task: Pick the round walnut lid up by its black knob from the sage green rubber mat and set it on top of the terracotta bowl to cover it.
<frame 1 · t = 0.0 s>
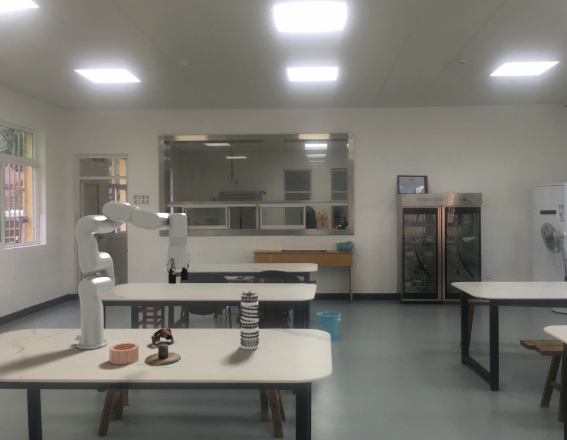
hand: (178, 281, 184), 31 cm above the table, tool pointing down, fingers open, 9 cm apart
lid: (163, 359, 177), resting on mat
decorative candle: (249, 346, 196), on the table
bowl: (124, 361, 176), on the table
mat: (163, 360, 177), on the table
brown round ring: (164, 344, 201), on the table
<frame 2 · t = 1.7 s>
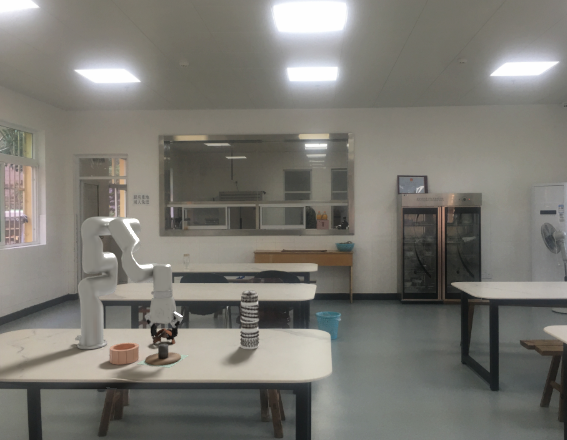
hand: (164, 336, 176), 10 cm above the table, tool pointing down, fingers open, 9 cm apart
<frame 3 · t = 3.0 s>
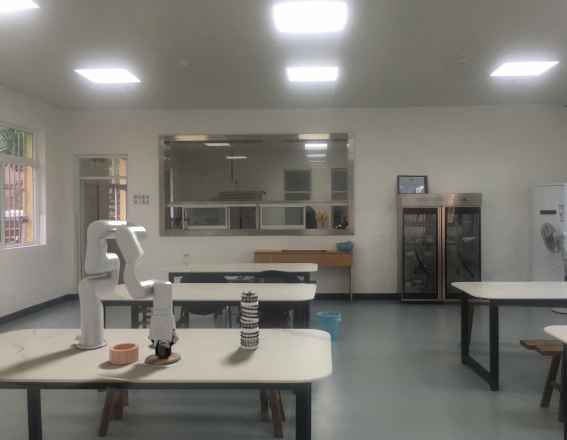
hand: (163, 355, 177), 2 cm above the table, tool pointing down, fingers closed on lid, 4 cm apart
lid: (163, 359, 177), point 1 cm above the table, touching gripper, mat
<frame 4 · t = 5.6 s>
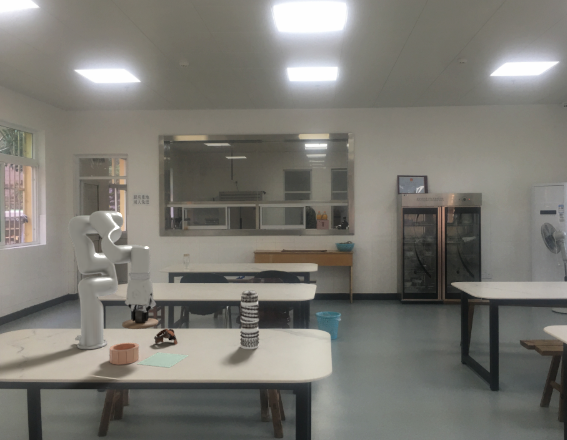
hand: (140, 320, 177), 17 cm above the table, tool pointing down, fingers closed on lid, 4 cm apart
lid: (140, 324, 177), point 15 cm above the table, touching gripper
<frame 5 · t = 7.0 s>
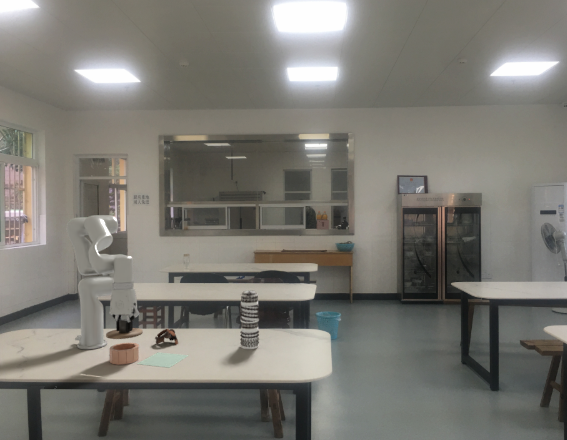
hand: (124, 330, 176), 13 cm above the table, tool pointing down, fingers closed on lid, 4 cm apart
lid: (124, 334, 176), point 11 cm above the table, touching gripper
when the fingers open (8 cm above the table, at t = 8.1 s): lid stays where it is, resting on bowl.
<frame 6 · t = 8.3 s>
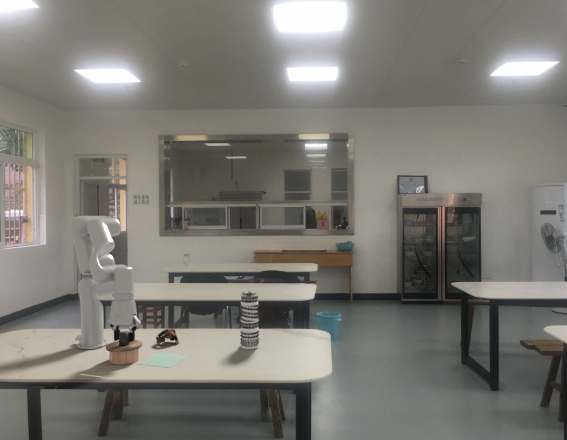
hand: (124, 340, 176), 9 cm above the table, tool pointing down, fingers open, 6 cm apart
lid: (124, 346, 176), point 6 cm above the table, touching bowl
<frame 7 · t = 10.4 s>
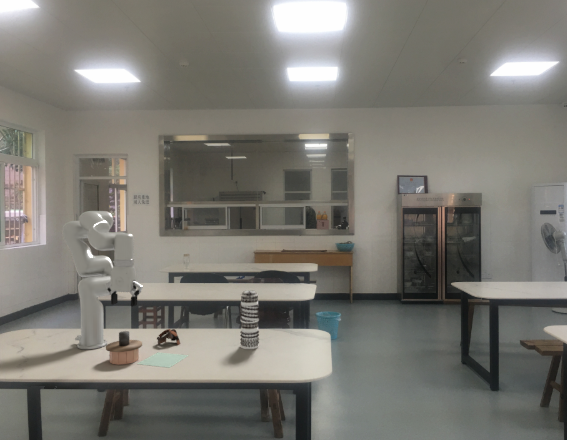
hand: (124, 304, 178), 23 cm above the table, tool pointing down, fingers open, 9 cm apart
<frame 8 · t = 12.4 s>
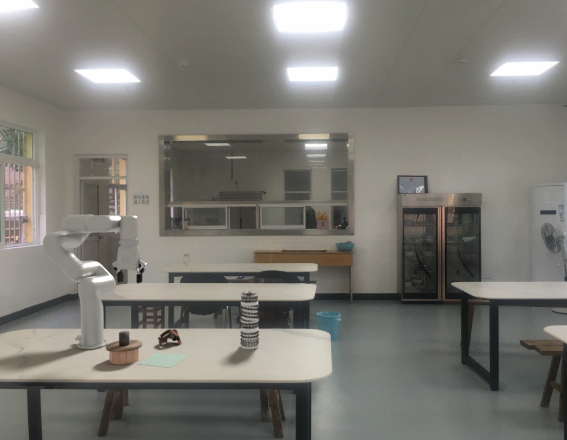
hand: (129, 282, 189), 30 cm above the table, tool pointing down, fingers open, 9 cm apart
at the end: lid 0.1 cm from the bowl (horizontally); lid point 6.0 cm above the table; lid tilted 0° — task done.
